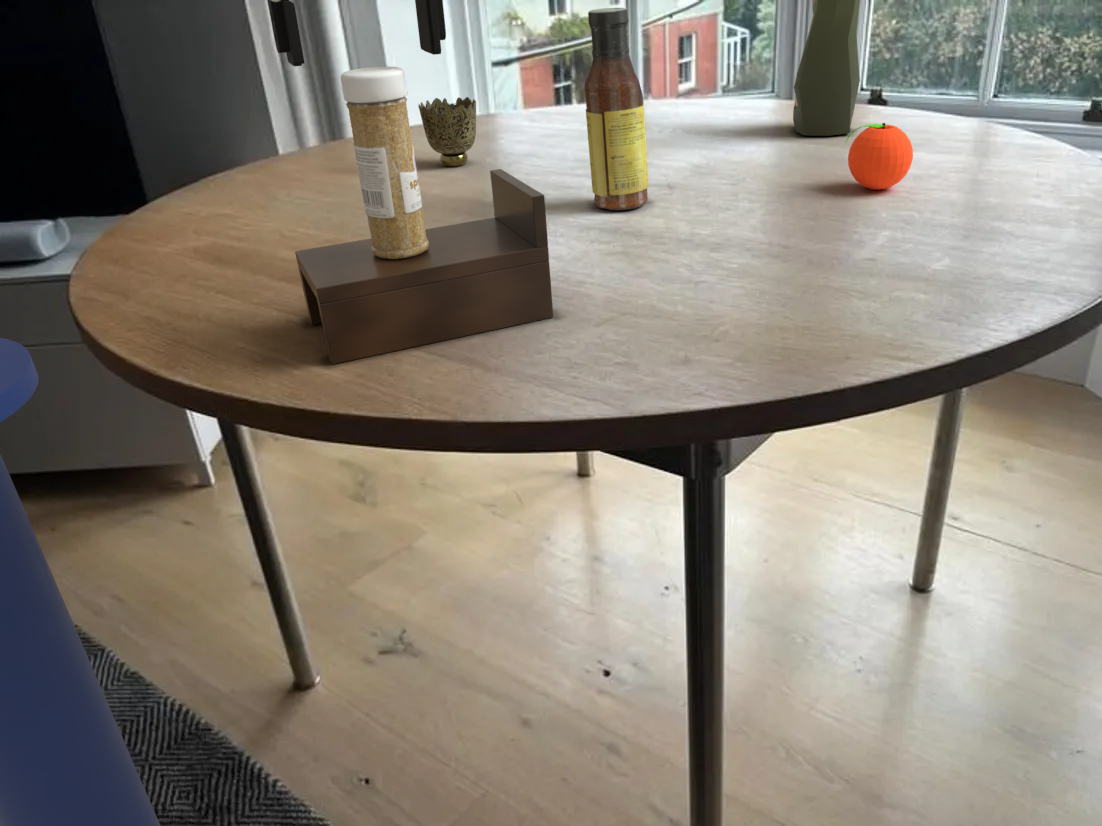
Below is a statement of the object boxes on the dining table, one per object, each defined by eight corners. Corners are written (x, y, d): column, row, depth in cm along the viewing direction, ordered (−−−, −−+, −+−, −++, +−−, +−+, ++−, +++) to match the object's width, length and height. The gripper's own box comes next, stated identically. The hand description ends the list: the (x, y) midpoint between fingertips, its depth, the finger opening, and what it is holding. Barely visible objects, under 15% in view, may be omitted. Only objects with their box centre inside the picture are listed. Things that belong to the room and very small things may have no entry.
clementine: (825, 189, 105) (830, 124, 102) (857, 176, 110) (863, 113, 106) (889, 200, 100) (897, 132, 97) (920, 186, 105) (928, 120, 101)
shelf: (332, 364, 70) (305, 234, 65) (309, 320, 78) (283, 201, 73) (553, 317, 76) (544, 195, 71) (511, 281, 84) (500, 168, 79)
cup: (487, 157, 127) (481, 95, 123) (476, 170, 121) (469, 105, 117) (434, 158, 128) (426, 97, 124) (420, 171, 121) (411, 107, 117)
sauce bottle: (657, 199, 105) (654, 5, 95) (633, 214, 100) (628, 12, 90) (606, 194, 108) (598, 5, 98) (580, 209, 103) (569, 12, 93)
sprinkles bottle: (439, 252, 73) (414, 68, 66) (385, 265, 71) (353, 76, 64) (414, 238, 76) (388, 62, 69) (362, 251, 74) (329, 70, 67)
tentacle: (846, 122, 136) (867, -118, 121) (864, 140, 125) (889, -120, 110) (783, 124, 136) (796, -114, 121) (796, 143, 126) (812, -116, 111)
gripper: (440, -229, 63) (465, 43, 72) (170, -235, 57) (232, 62, 66) (475, -245, 57) (497, 53, 66) (177, -254, 51) (244, 75, 60)
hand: (365, 57), depth 66 cm, fingers open, 9 cm apart
